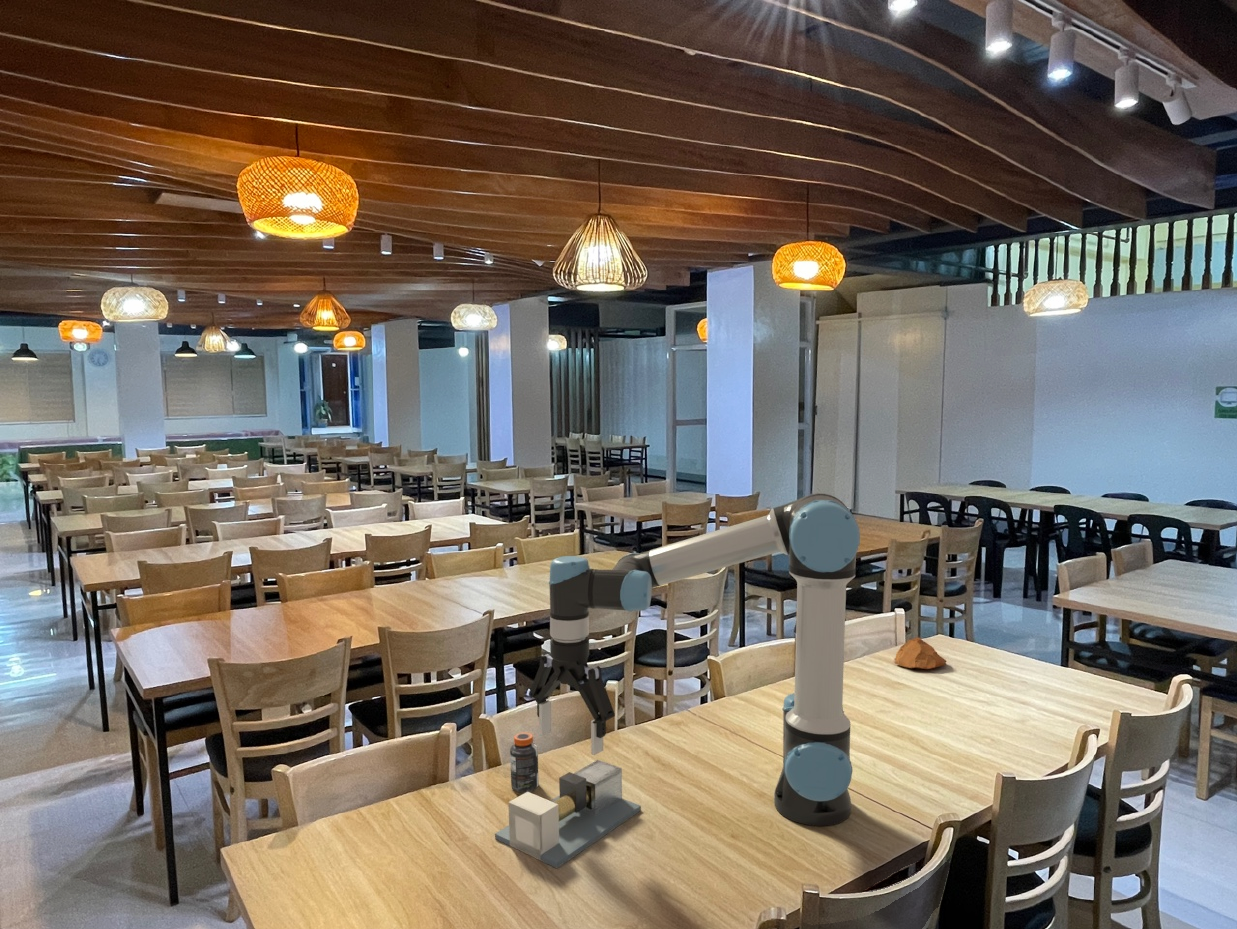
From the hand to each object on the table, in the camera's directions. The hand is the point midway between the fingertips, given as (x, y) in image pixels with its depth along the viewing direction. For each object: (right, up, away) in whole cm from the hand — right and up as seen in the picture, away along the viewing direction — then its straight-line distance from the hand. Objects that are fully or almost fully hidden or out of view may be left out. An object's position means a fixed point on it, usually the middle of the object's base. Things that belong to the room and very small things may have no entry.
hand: (570, 743), depth 157 cm
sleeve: (+5, -14, +7) cm, 17 cm away
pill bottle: (-11, -15, +16) cm, 25 cm away
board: (0, -16, +1) cm, 16 cm away
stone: (+102, -7, +90) cm, 136 cm away
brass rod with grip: (+2, -14, +3) cm, 14 cm away
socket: (-6, -17, -7) cm, 19 cm away
